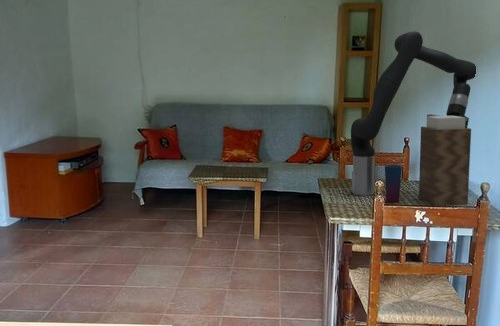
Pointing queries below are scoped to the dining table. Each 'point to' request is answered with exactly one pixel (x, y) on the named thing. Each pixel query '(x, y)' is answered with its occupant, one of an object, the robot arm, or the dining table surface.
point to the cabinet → (444, 166)
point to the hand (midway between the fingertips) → (448, 140)
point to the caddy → (445, 122)
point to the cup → (393, 182)
